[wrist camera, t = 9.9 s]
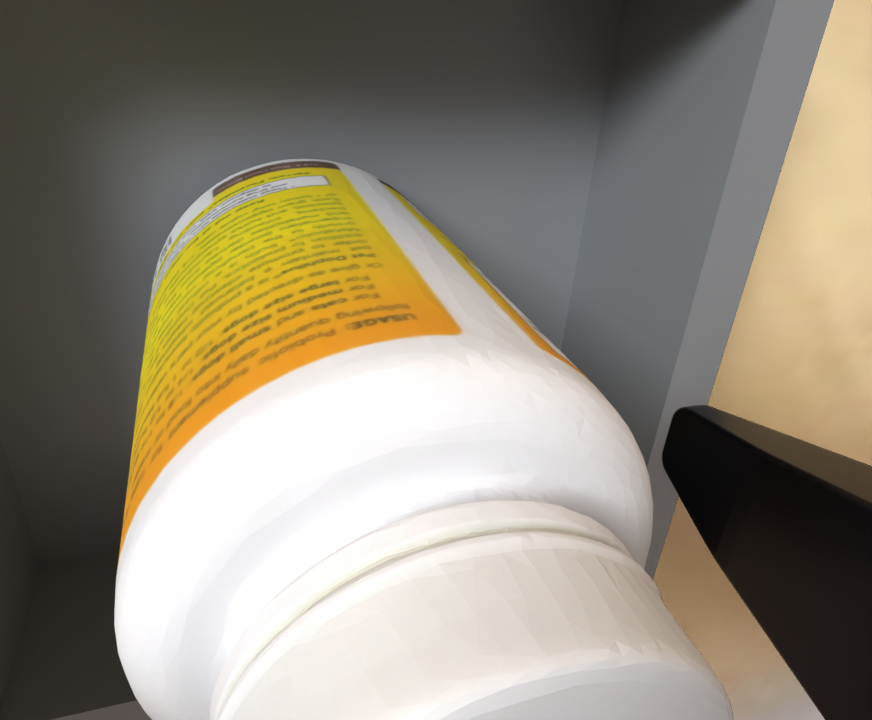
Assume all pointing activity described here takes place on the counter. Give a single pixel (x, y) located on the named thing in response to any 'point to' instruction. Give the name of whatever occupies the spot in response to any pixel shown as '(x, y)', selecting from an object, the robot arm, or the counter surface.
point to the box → (392, 163)
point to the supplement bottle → (377, 484)
